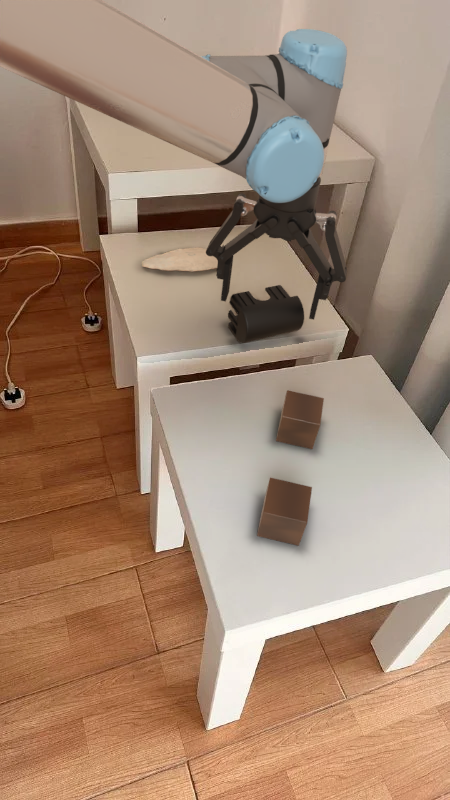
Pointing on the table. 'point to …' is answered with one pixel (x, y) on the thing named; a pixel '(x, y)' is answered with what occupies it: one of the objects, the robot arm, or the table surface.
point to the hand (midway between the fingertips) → (268, 305)
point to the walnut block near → (285, 511)
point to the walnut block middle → (300, 419)
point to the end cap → (264, 315)
